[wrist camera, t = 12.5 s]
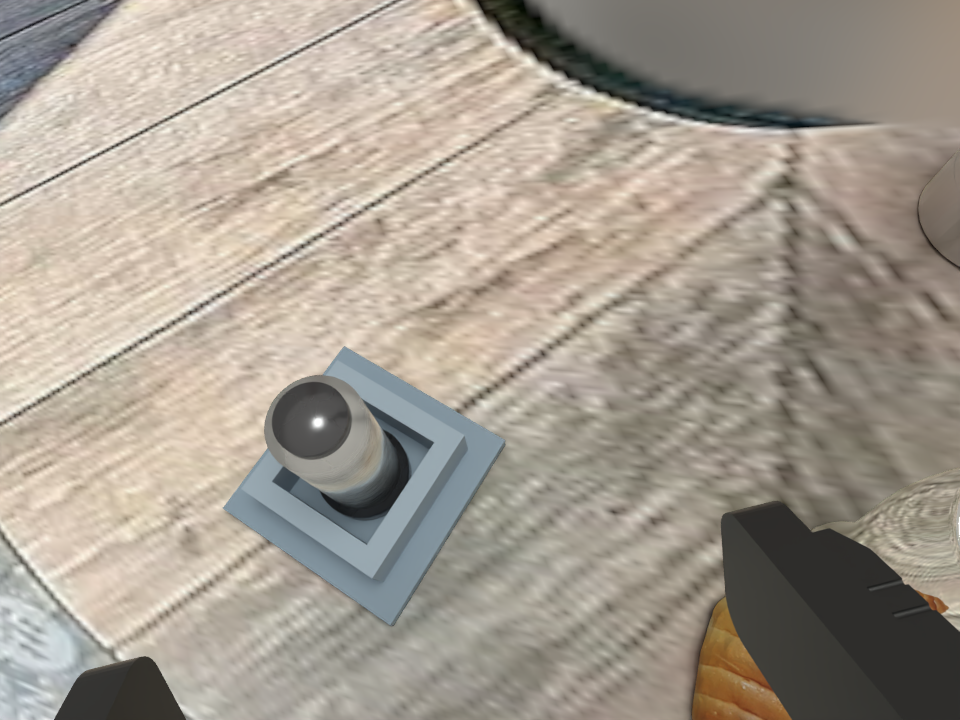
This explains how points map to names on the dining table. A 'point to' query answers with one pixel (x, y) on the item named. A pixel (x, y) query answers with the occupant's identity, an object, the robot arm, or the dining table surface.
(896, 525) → the beer glass
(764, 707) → the pastry
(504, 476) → the dining table surface
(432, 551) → the dock
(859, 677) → the robot arm
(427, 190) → the dining table surface
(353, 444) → the thermos
